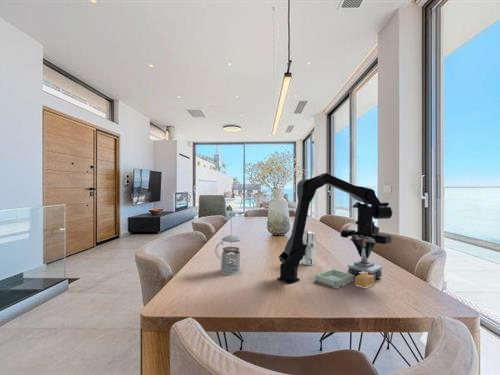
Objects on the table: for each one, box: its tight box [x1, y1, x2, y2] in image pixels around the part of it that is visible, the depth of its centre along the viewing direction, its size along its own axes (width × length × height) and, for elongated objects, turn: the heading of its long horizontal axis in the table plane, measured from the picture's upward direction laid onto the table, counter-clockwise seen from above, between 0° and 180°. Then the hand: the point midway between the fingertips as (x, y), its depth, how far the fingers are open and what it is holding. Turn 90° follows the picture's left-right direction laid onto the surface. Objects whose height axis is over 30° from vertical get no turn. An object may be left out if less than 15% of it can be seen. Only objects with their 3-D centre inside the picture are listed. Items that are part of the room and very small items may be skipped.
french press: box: [214, 212, 243, 276], centre depth 114 cm, size 10×12×25 cm
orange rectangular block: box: [354, 272, 376, 287], centre depth 100 cm, size 7×4×4 cm, turn 130°
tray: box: [314, 268, 354, 289], centre depth 104 cm, size 12×9×2 cm
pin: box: [360, 244, 369, 262], centre depth 110 cm, size 2×2×6 cm
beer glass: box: [301, 230, 317, 266], centre depth 127 cm, size 7×7×15 cm
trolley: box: [347, 259, 383, 280], centre depth 109 cm, size 9×10×6 cm
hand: (364, 257), depth 110 cm, fingers closed on pin, 2 cm apart
